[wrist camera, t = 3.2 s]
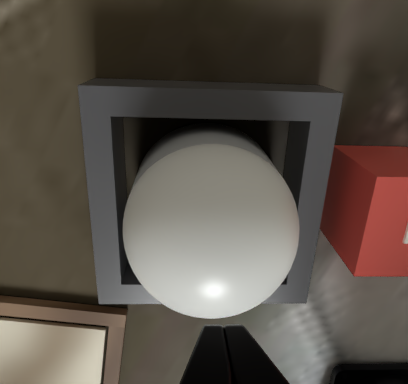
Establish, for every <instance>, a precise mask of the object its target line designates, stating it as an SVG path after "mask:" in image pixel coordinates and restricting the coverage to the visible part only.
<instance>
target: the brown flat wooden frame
mask: <svg viewBox="0 0 408 384" xmlns="http://www.w3.org/2000/svg"><path fill="white" fill-rule="evenodd" d="M127 310H128V309H126V308H117V307H107V306H98V305H88V304H79V303H69V302H60V301H50V300H41V299H31V298H22V297H12V296H3V295H0V315H2V316H12V317H22V318H32V319H42V320H52V321H62V322H72V323H82V324H92V325H102V326H109V331H108V341H107V351H106V361H105V372H104V382H103V384H119V377H120V369H121V361H122V352H123V344H124V335H125V327H126V319H127ZM105 334H106V328H104V327H94V326H84V325H74V324H64V323H54V322H44V321H34V320H24V319H14V318H4V317H0V384H101V377H102V366H103V355H104V345H105Z"/></svg>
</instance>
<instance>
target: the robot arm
mask: <svg viewBox="0 0 408 384" xmlns="http://www.w3.org/2000/svg"><path fill="white" fill-rule="evenodd" d="M180 384H289V382H288V381H287V380H286V378H285V377H284V376H283V375H282V373H281V372H280V371H279V370H278V368H277V367H276V366H275V365H274V363H273V362H272V361H271V359H270V358H269V357H268V356H267V354H266V353H265V352H264V351H263V349H262V348H261V347H260V346H259V344H258V343H257V342H256V341H255V339H254V338H253V337H252V335H251V334H250V333H249V332H248V330H247V329H246V328H245V327H244V326H243V325H225V326H224V327H223V326H222V325H205V326H203V328H202V330H201V333H200V335H199V337H198V340H197V342H196V345H195V347H194V350H193V352H192V355H191V357H190V359H189V362H188V364H187V367H186V369H185V372H184V374H183V376H182V379H181V381H180ZM330 384H408V363H396V364H341V365H338V366H336V367H335V368H334V369H333V372H332V376H331V380H330Z"/></svg>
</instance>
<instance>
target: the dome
mask: <svg viewBox="0 0 408 384" xmlns="http://www.w3.org/2000/svg"><path fill="white" fill-rule="evenodd" d="M299 230H300V228H299V217H298V212H297V207H296V203H295V201H294V198H293V195H292V193H291V191H290V189H289V187H288V185H287V184H286V182H285V180H284V179H283V177H282V176H281V174H280V173H279V172H278V170H277V169H276V167H275V166H274V165H273V163H272V162H271V160H270V159H269V158H268V156H267V155H266V153H265V152H264V151H263V149H262V148H261V147H260V146H259V145H258V144H257V143H256V142H255V141H254V140H253V139H252V138H251V137H249V136H248V135H246V134H245V133H243V132H241V131H239V130H238V129H235V128H233V127H230V126H227V125H222V124H217V123H197V124H191V125H187V126H184V127H180V128H178V129H176V130H174V131H172V132H170V133H168V134H167V135H165V136H163V137H162V138H161V139H160V140H159V141H157V142H156V143H155V144H154V145H153V146H152V147H151V149H150V150H149V151H148V152H147V154H146V155H145V157H144V159H143V161H142V163H141V165H140V167H139V170H138V173H137V175H136V178H135V181H134V184H133V186H132V189H131V192H130V195H129V197H128V200H127V204H126V207H125V212H124V218H123V241H124V248H125V252H126V255H127V259H128V261H129V264H130V266H131V268H132V270H133V273H134V274H135V276H136V277H137V279H138V280H139V282H140V283H141V284H142V286H143V287H144V288H145V289H146V290H147V291H148V293H150V294H151V295H152V296H153V297H154V298H155V299H157V300H158V301H159V302H161V303H162V304H164V305H165V306H167V307H168V308H170V309H172V310H174V311H176V312H179V313H182V314H185V315H188V316H192V317H199V318H211V319H213V318H224V317H230V316H234V315H237V314H240V313H243V312H245V311H248V310H250V309H252V308H254V307H256V306H257V305H259V304H260V303H262V302H263V301H265V300H266V299H267V298H268V297H270V296H271V295H272V294H273V293H274V292H275V291H276V289H277V288H278V287H279V286H280V285H281V283H282V282H283V281H284V279H285V278H286V276H287V274H288V273H289V271H290V269H291V267H292V264H293V261H294V259H295V256H296V253H297V248H298V242H299Z"/></svg>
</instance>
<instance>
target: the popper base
mask: <svg viewBox="0 0 408 384" xmlns="http://www.w3.org/2000/svg"><path fill="white" fill-rule="evenodd" d="M78 93H79V104H80V114H81V124H82V135H83V145H84V156H85V166H86V176H87V187H88V197H89V208H90V218H91V228H92V239H93V249H94V260H95V270H96V280H97V291H98V301H99V304H162V303H161V302H159V301H158V300H157V299H155V298H154V297H153V296H152V295H151V294H150V293H148V291H147V290H146V289H145V288H144V287H143V286H142V284H141V283H140V282H139V280H138V279H137V277H136V276H135V274H134V273H133V270H132V268H131V266H130V264H129V261H128V259H127V255H126V252H125V248H124V241H123V218H124V212H125V207H126V204H127V189H126V170H125V151H124V131H123V117H154V118H194V119H234V120H274V121H290V126H289V134H288V142H287V150H286V158H285V166H284V174H283V179H284V180H285V182H286V184H287V185H288V187H289V189H290V191H291V193H292V195H293V198H294V201H295V203H296V207H297V212H298V217H299V228H300V230H299V242H298V248H297V253H296V256H295V259H294V261H293V264H292V267H291V269H290V271H289V273H288V274H287V276H286V278H285V279H284V281H283V282H282V283H281V285H280V286H279V287H278V288H277V289H276V291H275V292H274V293H273V294H272V295H271V296H270V297H268V298H267V299H266V300H265V301H263V302H262V303H306V302H307V296H308V291H309V285H310V279H311V274H312V268H313V263H314V257H315V251H316V246H317V240H318V234H319V229H320V230H321V231H322V232H323V234H324V235H325V237H326V238H327V239H328V241H329V242H330V244H331V245H332V246H333V248H334V249H335V251H336V252H337V253H338V255H339V256H340V258H341V259H342V260H343V262H344V263H345V264H346V266H347V267H348V269H349V270H350V271H351V273H352V274H353V276H408V147H399V146H352V145H334V144H335V138H336V133H337V127H338V121H339V116H340V110H341V104H342V99H343V93H341V92H338V91H335V90H332V89H329V88H326V87H323V86H320V85H301V84H269V83H236V82H204V81H171V80H139V79H106V78H94V79H92V80H89V81H87V82H85V83H82V84H80V85H78Z"/></svg>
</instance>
